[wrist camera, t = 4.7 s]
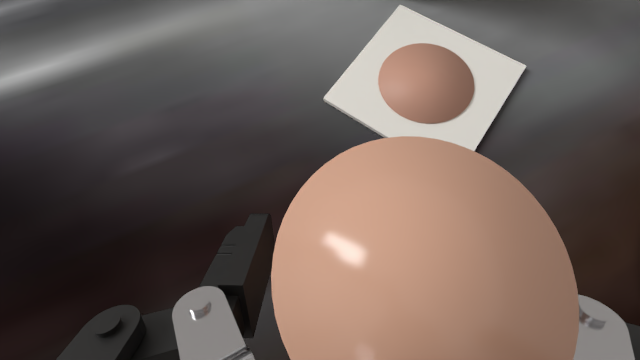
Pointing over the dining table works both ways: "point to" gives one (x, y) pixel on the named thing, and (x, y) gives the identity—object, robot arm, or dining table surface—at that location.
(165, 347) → the robot arm
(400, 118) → the card
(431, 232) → the terracotta tube
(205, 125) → the dining table surface
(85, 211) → the dining table surface
